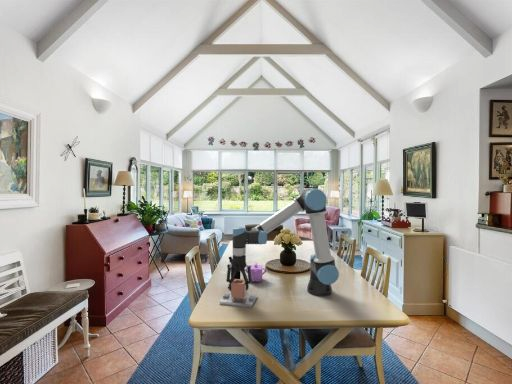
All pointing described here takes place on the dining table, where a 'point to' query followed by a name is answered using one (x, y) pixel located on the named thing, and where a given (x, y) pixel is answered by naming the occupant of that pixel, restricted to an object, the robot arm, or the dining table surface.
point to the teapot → (256, 272)
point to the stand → (238, 300)
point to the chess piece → (237, 275)
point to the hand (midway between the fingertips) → (239, 294)
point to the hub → (237, 288)
